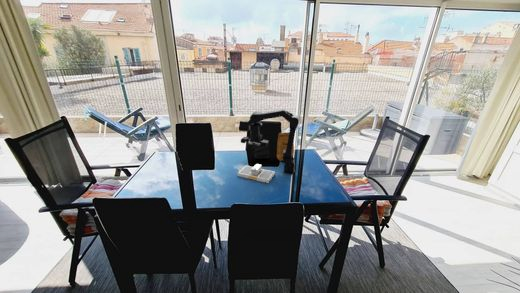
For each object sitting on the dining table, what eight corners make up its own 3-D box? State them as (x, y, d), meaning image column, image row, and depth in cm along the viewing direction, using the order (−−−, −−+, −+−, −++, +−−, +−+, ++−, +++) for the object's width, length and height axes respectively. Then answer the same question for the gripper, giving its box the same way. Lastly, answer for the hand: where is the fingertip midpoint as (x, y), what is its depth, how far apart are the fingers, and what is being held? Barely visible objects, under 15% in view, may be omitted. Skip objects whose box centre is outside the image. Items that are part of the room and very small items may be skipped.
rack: (274, 174, 148) (274, 171, 147) (268, 183, 137) (268, 180, 136) (245, 167, 156) (245, 165, 155) (237, 175, 145) (237, 173, 144)
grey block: (261, 172, 149) (261, 165, 147) (256, 178, 142) (256, 170, 140) (256, 171, 151) (256, 163, 148) (251, 176, 144) (251, 168, 142)
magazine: (273, 156, 170) (265, 140, 164) (257, 163, 171) (249, 147, 165) (272, 154, 173) (264, 138, 168) (257, 161, 175) (249, 145, 169)
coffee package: (294, 161, 166) (296, 134, 158) (278, 162, 165) (279, 134, 156) (290, 156, 175) (293, 130, 167) (275, 156, 174) (277, 130, 166)
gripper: (272, 130, 148) (271, 151, 154) (247, 126, 155) (247, 146, 161) (266, 135, 138) (265, 157, 144) (240, 131, 145) (240, 152, 151)
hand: (254, 153), depth 150 cm, fingers closed
